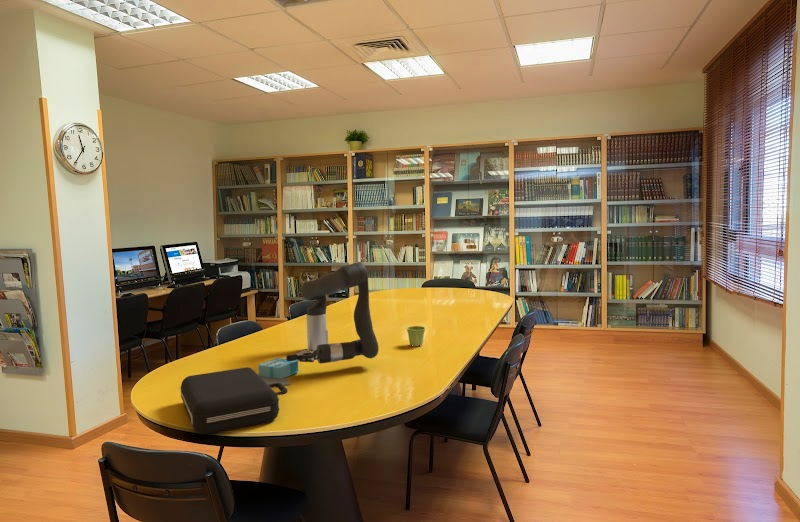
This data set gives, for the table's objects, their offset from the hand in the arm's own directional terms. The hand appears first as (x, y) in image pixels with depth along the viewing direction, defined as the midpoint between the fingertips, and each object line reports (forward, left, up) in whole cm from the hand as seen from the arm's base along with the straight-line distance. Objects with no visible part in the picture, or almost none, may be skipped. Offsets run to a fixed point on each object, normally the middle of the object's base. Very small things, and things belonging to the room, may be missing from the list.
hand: (286, 358), depth 207 cm
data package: (-2, -2, -5) cm, 6 cm away
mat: (+8, 0, -8) cm, 11 cm away
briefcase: (+22, +28, -9) cm, 36 cm away
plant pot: (-67, -25, -8) cm, 72 cm away
